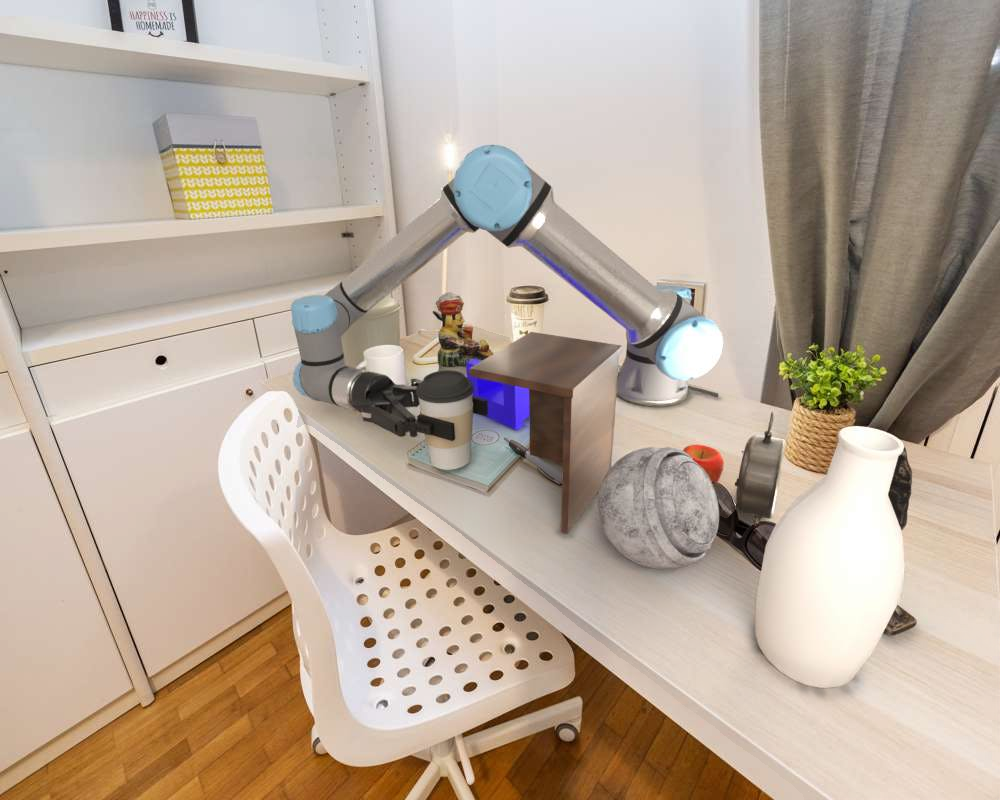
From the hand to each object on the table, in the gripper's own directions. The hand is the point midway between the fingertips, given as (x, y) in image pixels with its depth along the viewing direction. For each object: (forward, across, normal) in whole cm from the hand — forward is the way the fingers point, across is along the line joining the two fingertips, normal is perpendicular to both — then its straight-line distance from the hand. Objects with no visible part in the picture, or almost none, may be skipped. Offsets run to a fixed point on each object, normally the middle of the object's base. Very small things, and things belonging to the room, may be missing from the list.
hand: (470, 419), depth 80 cm
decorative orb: (+31, +4, -11) cm, 33 cm away
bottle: (+48, +11, -10) cm, 51 cm away
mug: (-32, -13, -11) cm, 36 cm away
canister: (-48, -26, -11) cm, 56 cm away
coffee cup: (-5, 0, -9) cm, 10 cm away
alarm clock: (+41, -11, -10) cm, 43 cm away
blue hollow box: (-5, -29, -11) cm, 31 cm away
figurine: (-26, -34, -11) cm, 44 cm away
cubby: (+12, -3, -10) cm, 16 cm away
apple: (+33, -12, -10) cm, 37 cm away
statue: (+55, +2, -10) cm, 56 cm away
